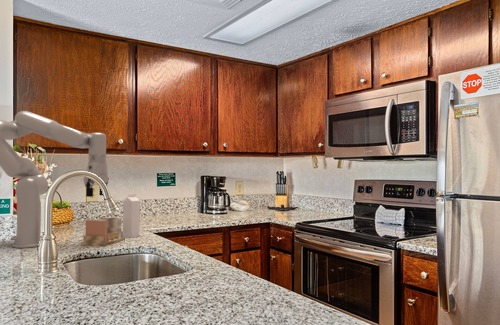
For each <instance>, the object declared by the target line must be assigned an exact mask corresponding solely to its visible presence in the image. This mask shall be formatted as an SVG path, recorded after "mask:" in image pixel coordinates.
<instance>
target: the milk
mask: <svg viewBox="0 0 500 325" xmlns="http://www.w3.org/2000/svg"><path fill="white" fill-rule="evenodd" d="M140 211H141V200H140V199H139V198H138V197H137V194H136V193H135V194H134V193H132V194H127V197H126V198H125V199H123V203H122V214H123V215H122V231H123V237H125V238H130V239H133V238H137V236H138V237H140V229H141V228H140V225H141V224H140V218H141V212H140Z"/></svg>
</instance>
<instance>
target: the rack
mask: <svg viewBox="0 0 500 325" xmlns="http://www.w3.org/2000/svg"><path fill="white" fill-rule="evenodd" d="M100 220H106V221H107V242H106V243H104V237H102V236H86V235H83V241H82V242H80V246H87V247H88V246H89V247H91V246H92V247H107V246H109V245H112V244H116V243H119V242H122V241H125V240H126V237H123V230H122V225H123V217H120V216H119V217H117V216H116V217H114V216H113V217H112V216H102V217H100Z"/></svg>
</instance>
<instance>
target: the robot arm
mask: <svg viewBox="0 0 500 325" xmlns="http://www.w3.org/2000/svg"><path fill="white" fill-rule="evenodd" d="M32 133H33V134H37V135H39V136H41V137H43V138H46V139H49V140H54V141H56V142H59V143H62V144H64V145H67V146H70V147H73V148H77V149H88V162H87V169H86V172H87V171H88V172H91V173H94V174H96V175H97V176H98V177H100V178H101V179H102V180H103V181H104V183H105V184H106V186H107V187H108V183H109V179H110V178H109V177H108V165H107V162H106V161H107V134H105V133H103V132H91V133H87V132H85V131H84V132H83V131H80V130H77V129H74V128H72V127H69V126H66V125H63V124H60V123H59V122H58V121H56V120H54V119H50V118H48V117H45V116H42V115H39V114H37V113H33V112H31V111H29V110H21V111H18V112H17V113H16V114H15V115H14V120H10V121H6V120H3V119H0V168H1V169H2V171H3V172H4V174H6V176H8V177H10V178H18V179H19V180H17V182H16V185H15V188H14V189H15V197H16V235H12V237H10V241H14V243H12V248H16V249H27V248H35V247H39V246H38V244H39V241H41V236H42V235H41V233H42V232H41V230H42V229H41V228H42V227H41V226H42V223H41V222H42V218H41V217H42V204H41V203H42V202H41V197H40V196H42V195H44V194H46V192H47V191H48V189H49V182H48V180H47V178H46V176H44V174H43V173H42V172H41V170H40V169H39V168H38V166H36V164H35V163H34V162H33V161H32V160H31V159H29V158H27V157H21V156H20V155H19V154H18V153H17V152H16V150H15V149H14V148H13V146H12V145H11V144H10V143H9V142H8V141H12V140H16V139H19V138H21V137H25V136H26V135H29V134H30V135H31V134H32ZM83 183H84V184H83V185H85V186H84V187H85V189H86V190H85V192H86V194H85V197H89V198H91V197H94V186H95V184H96V183H95V182H94V181H93V180H91V179H89V178H87V177H86V176H84V177H83ZM98 196H104V195H103V194H102V191H101V189H100V188H99V192H98Z"/></svg>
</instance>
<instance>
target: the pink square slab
mask: <svg viewBox="0 0 500 325" xmlns="http://www.w3.org/2000/svg"><path fill="white" fill-rule="evenodd" d="M85 236H102V237H104V243H106V242H107V221H106V220H101V219H98V220H97V219H85Z"/></svg>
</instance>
